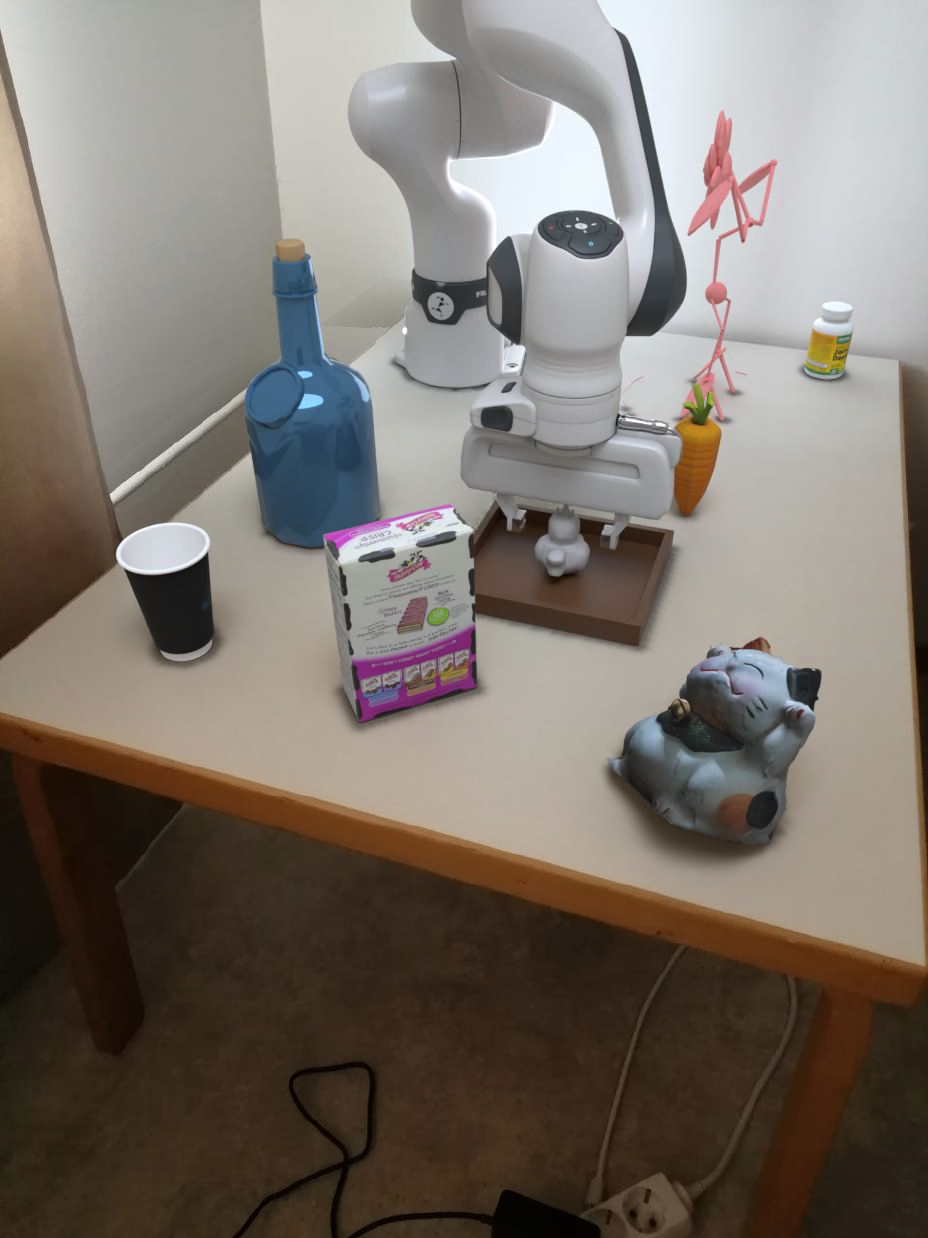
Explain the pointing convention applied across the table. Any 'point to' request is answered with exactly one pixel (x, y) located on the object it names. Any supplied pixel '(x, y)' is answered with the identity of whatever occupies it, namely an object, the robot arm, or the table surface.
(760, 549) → the table surface
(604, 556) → the serving tray
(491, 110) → the robot arm
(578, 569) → the rubber duck
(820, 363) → the supplement bottle
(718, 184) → the figurine
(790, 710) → the lucky cat figurine
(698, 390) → the carrot
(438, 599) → the candy bar box
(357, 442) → the wine bottle
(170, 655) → the dixie cup
